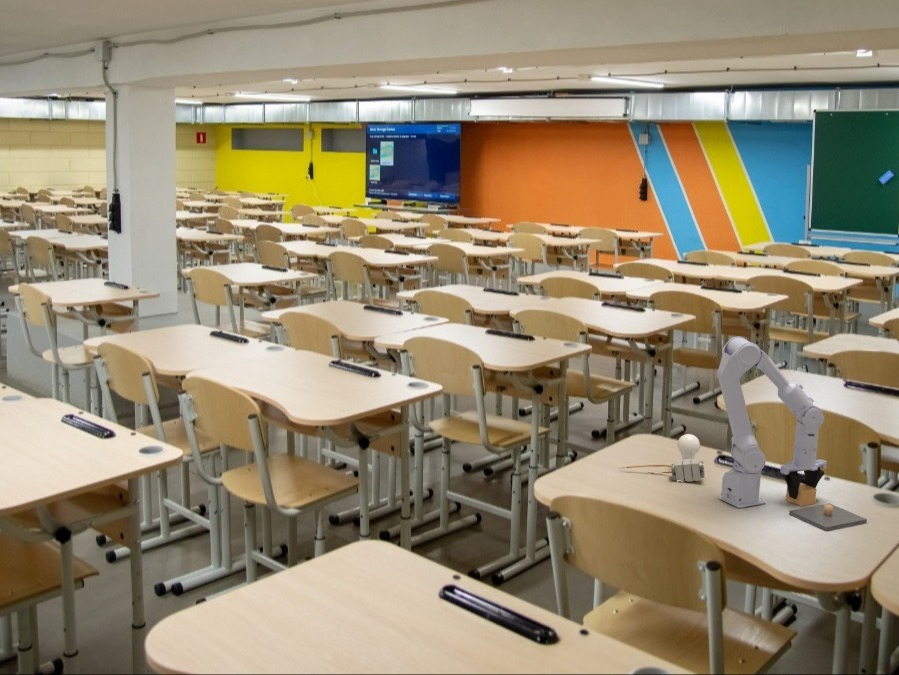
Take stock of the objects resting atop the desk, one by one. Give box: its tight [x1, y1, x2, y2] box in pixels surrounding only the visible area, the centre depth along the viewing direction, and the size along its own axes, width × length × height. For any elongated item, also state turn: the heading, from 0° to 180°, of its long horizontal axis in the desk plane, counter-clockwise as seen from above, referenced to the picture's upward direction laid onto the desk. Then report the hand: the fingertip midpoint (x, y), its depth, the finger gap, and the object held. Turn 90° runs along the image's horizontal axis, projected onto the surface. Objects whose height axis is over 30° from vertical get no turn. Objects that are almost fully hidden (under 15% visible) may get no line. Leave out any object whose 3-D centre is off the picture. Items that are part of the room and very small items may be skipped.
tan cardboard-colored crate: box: [785, 482, 817, 507], centre depth 248 cm, size 5×5×4 cm
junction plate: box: [788, 503, 868, 532], centre depth 236 cm, size 14×12×4 cm
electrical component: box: [619, 457, 705, 482], centre depth 265 cm, size 24×6×5 cm, turn 74°
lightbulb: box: [677, 433, 701, 460], centre depth 271 cm, size 6×6×11 cm
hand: (800, 496), depth 248 cm, fingers closed on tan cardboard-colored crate, 5 cm apart
